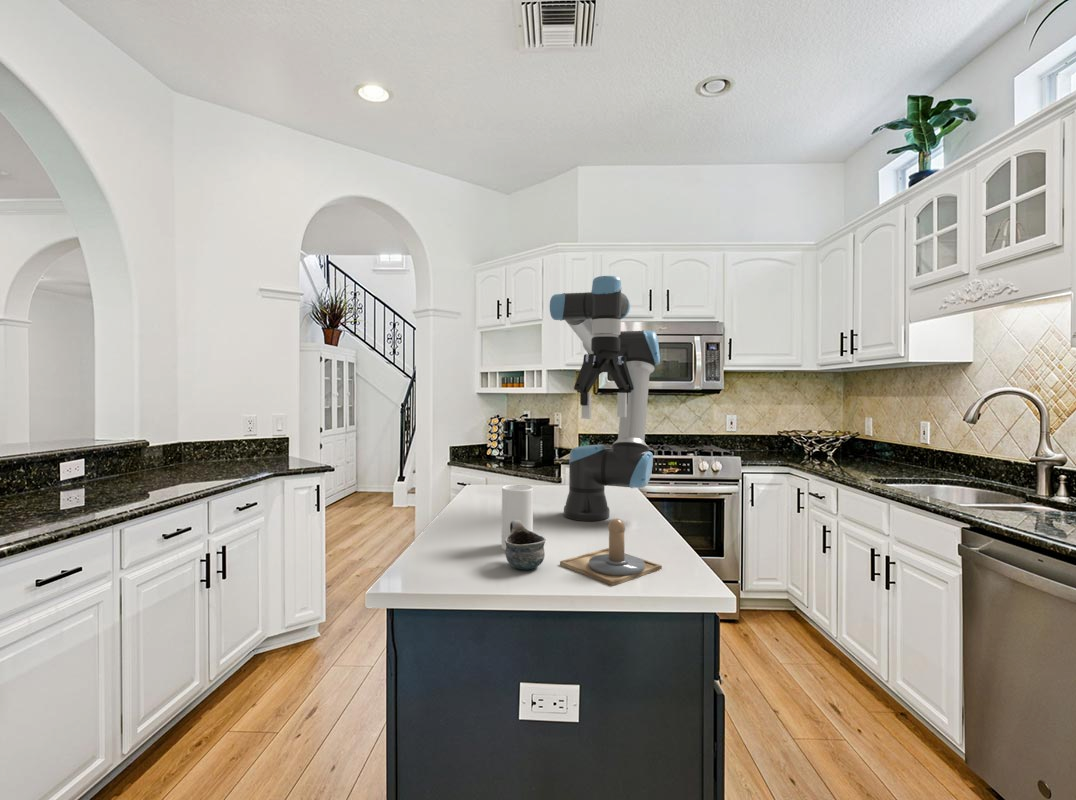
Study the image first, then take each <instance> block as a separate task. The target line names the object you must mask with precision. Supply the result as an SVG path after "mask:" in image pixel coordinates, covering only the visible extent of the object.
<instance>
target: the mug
mask: <svg viewBox="0 0 1076 800" xmlns="http://www.w3.org/2000/svg"><path fill="white" fill-rule="evenodd" d="M546 540H547V539H546V538H545V537H544V536H543V535H539V534H538V533H536V532H534V531H533V532H531V531H529V530H527V529H526V528H525V527H524V525H523V524H522V522H521V521H520V520H513V521H511V523H510V534H509V535H508V536H506V538H505V543H506V550H505V558H506V560H507V562H508V564H509V565H510V566H512V567H513V568H515V569H518V570H533V569H535V568H537V567H538V566H540V565H541V564H542V563H543V562H544V559H545V544H546Z"/></svg>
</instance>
